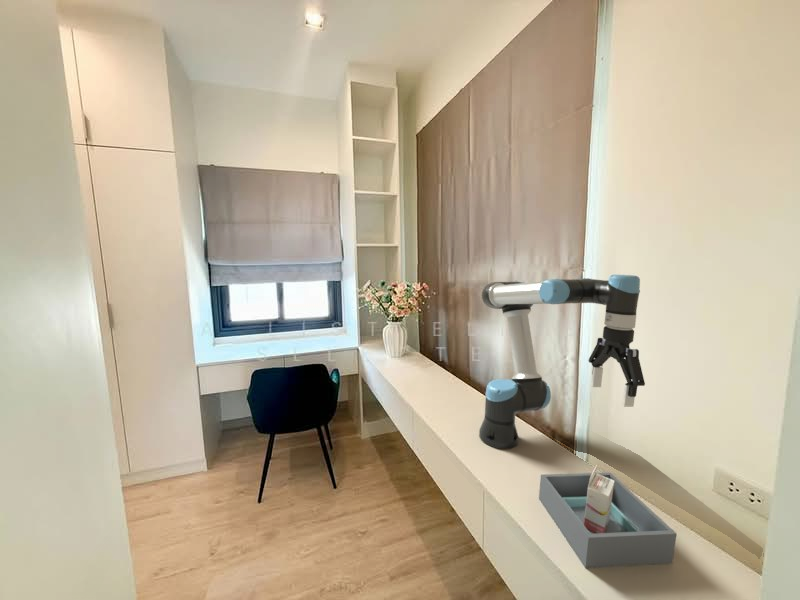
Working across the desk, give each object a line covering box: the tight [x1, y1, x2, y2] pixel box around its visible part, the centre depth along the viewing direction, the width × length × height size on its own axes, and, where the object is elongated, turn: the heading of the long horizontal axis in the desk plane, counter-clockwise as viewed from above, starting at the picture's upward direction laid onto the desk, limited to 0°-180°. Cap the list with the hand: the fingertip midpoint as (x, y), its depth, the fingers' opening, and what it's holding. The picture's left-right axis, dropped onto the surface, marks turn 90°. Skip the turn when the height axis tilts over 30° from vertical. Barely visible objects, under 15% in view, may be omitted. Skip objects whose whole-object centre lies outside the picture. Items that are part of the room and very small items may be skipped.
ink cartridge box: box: [584, 463, 615, 534], centre depth 87 cm, size 9×5×15 cm, turn 138°
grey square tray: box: [538, 472, 677, 569], centre depth 87 cm, size 22×22×8 cm
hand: (610, 395), depth 98 cm, fingers open, 13 cm apart
